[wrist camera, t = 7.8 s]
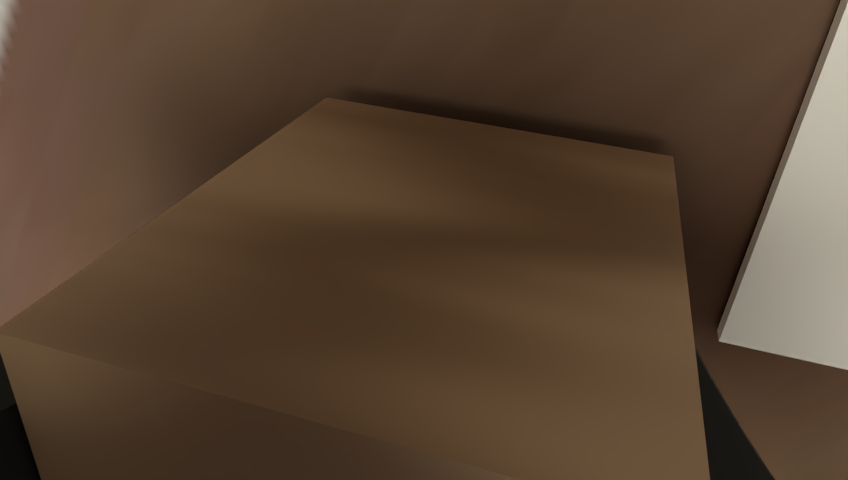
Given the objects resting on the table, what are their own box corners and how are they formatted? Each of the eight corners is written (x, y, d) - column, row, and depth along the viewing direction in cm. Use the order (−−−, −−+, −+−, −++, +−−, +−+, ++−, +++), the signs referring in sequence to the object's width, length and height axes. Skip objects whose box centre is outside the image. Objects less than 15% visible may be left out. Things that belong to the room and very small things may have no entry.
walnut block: (673, 156, 9) (716, 534, 4) (596, 425, 11) (559, 868, 6) (326, 97, 10) (-7, 332, 5) (326, 356, 12) (107, 688, 7)
